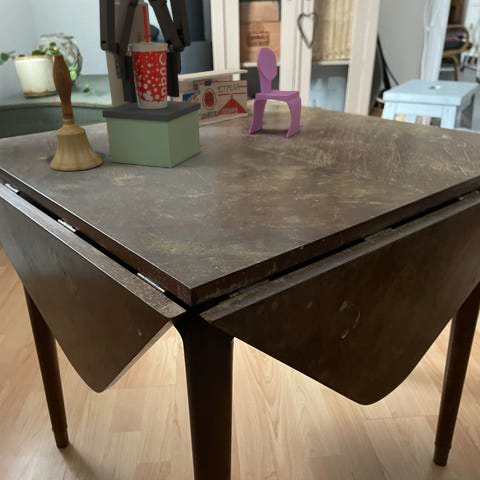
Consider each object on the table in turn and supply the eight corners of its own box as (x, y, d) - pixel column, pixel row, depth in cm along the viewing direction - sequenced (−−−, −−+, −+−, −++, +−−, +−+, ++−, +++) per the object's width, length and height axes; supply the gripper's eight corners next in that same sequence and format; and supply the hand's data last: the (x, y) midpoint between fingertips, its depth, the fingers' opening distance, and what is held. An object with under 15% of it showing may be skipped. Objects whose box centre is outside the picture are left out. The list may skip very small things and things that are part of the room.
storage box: (108, 162, 88) (101, 110, 84) (144, 146, 98) (139, 99, 93) (172, 168, 85) (167, 114, 81) (202, 151, 94) (200, 102, 90)
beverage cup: (152, 111, 83) (143, 6, 76) (125, 107, 86) (114, 6, 79) (179, 105, 87) (173, 5, 80) (153, 102, 91) (144, 5, 83)
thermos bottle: (168, 139, 102) (154, -38, 88) (140, 148, 96) (121, -40, 82) (136, 135, 106) (118, -36, 92) (107, 143, 100) (83, -38, 86)
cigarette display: (185, 128, 110) (182, 78, 106) (168, 125, 114) (164, 76, 109) (251, 114, 123) (251, 69, 118) (234, 112, 126) (233, 68, 121)
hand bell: (40, 164, 87) (18, 55, 79) (85, 155, 92) (69, 51, 84) (66, 174, 82) (46, 58, 74) (112, 164, 87) (98, 54, 79)
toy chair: (288, 139, 101) (291, 50, 94) (245, 135, 105) (245, 49, 97) (303, 130, 108) (307, 46, 100) (262, 127, 111) (263, 45, 103)
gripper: (79, -87, 67) (105, 109, 79) (211, -77, 78) (216, 95, 89) (56, -80, 72) (83, 103, 84) (182, -72, 83) (190, 90, 94)
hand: (152, 98), depth 86 cm, fingers open, 7 cm apart
